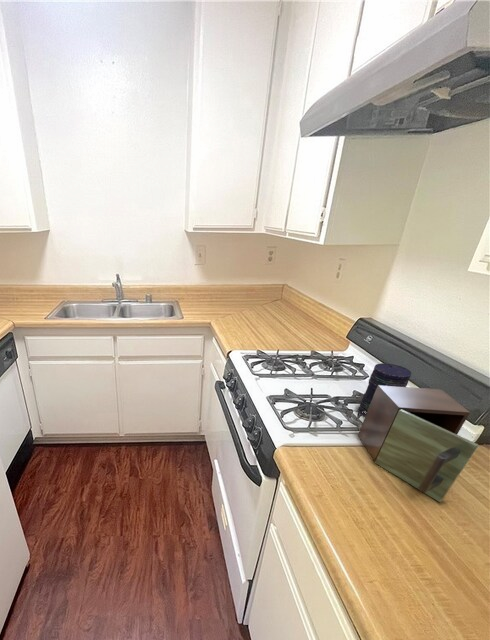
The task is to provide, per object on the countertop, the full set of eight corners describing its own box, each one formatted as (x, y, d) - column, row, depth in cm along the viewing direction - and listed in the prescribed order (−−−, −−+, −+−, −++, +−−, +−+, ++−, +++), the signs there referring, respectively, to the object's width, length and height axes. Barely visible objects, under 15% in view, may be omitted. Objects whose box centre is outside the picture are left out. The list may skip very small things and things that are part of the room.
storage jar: (395, 423, 105) (416, 378, 97) (360, 418, 107) (378, 373, 99) (387, 408, 113) (407, 365, 105) (355, 403, 115) (371, 361, 107)
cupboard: (438, 465, 88) (470, 412, 79) (374, 460, 89) (399, 407, 80) (414, 439, 98) (441, 389, 89) (357, 435, 99) (377, 385, 90)
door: (423, 512, 74) (459, 454, 66) (358, 469, 86) (382, 416, 77) (442, 501, 77) (479, 444, 69) (377, 461, 89) (401, 409, 80)
